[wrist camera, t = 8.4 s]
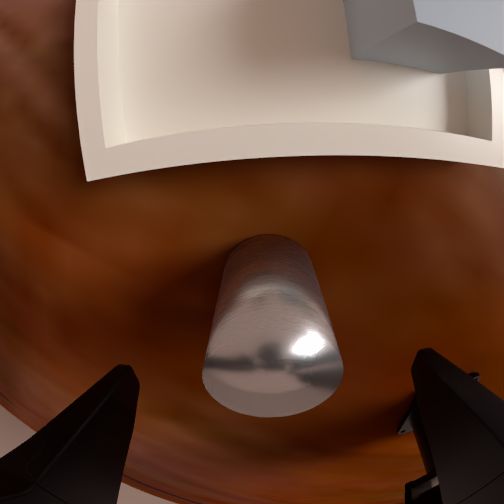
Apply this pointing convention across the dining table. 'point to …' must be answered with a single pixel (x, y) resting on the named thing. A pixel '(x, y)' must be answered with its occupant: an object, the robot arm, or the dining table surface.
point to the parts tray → (261, 89)
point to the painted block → (428, 33)
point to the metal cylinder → (271, 332)
